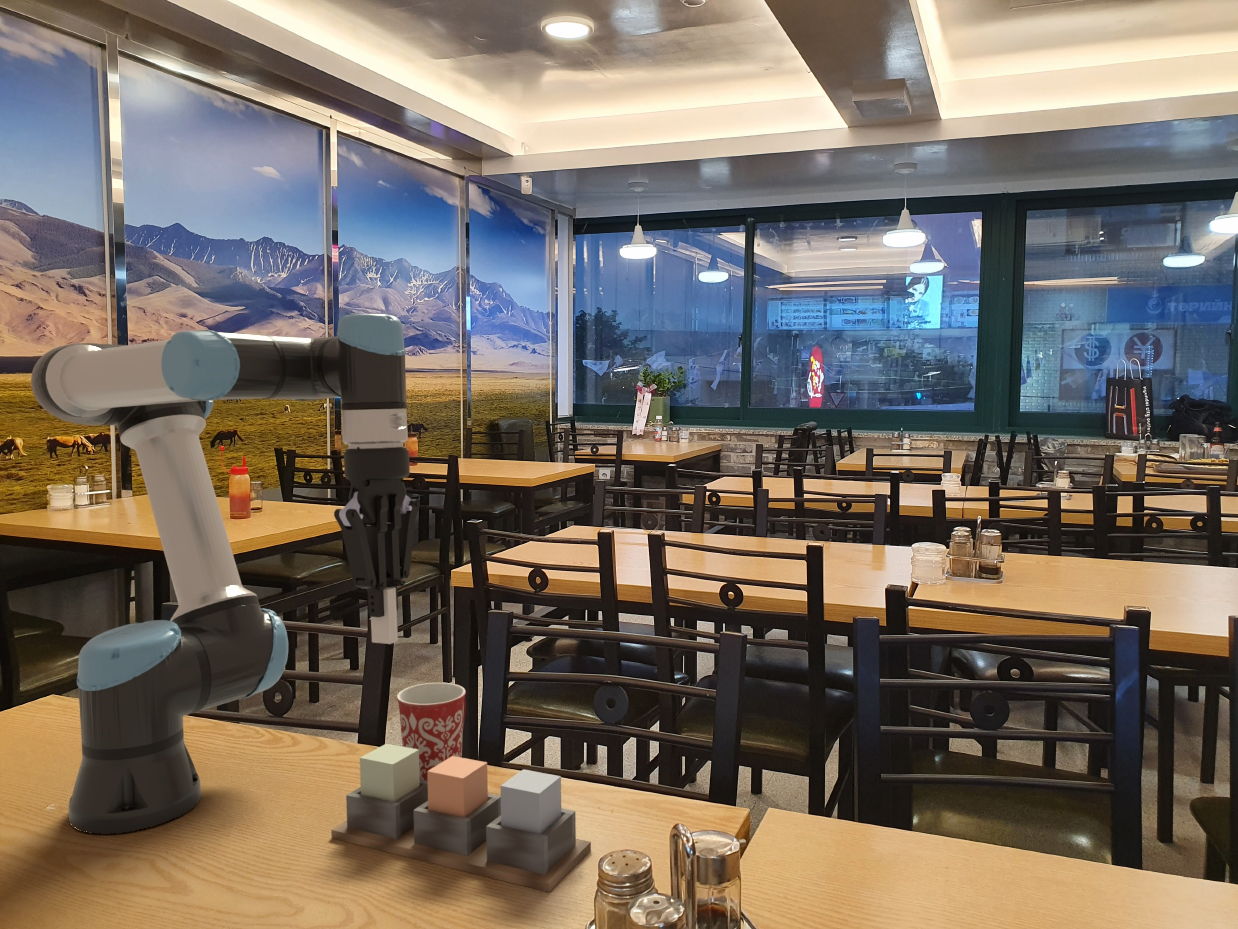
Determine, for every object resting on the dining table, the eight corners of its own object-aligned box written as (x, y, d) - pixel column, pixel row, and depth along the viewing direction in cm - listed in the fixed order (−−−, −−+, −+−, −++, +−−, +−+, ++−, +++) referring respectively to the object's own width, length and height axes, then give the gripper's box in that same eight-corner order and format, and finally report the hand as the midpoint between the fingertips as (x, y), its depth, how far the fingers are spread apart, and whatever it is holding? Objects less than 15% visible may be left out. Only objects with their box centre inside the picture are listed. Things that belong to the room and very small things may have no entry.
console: (331, 837, 110) (330, 797, 109) (385, 804, 119) (384, 767, 118) (549, 892, 97) (548, 847, 97) (590, 850, 106) (590, 808, 106)
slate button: (501, 837, 102) (500, 785, 102) (524, 819, 107) (523, 769, 106) (540, 846, 100) (539, 793, 100) (561, 827, 105) (560, 776, 104)
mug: (444, 809, 117) (442, 707, 116) (385, 798, 120) (383, 699, 119) (492, 772, 129) (490, 678, 128) (437, 763, 132) (435, 672, 131)
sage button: (361, 805, 111) (359, 757, 110) (387, 789, 115) (386, 743, 115) (394, 813, 108) (392, 764, 108) (419, 796, 113) (418, 749, 113)
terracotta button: (428, 821, 106) (427, 771, 106) (453, 803, 111) (452, 756, 110) (464, 829, 104) (463, 778, 104) (488, 811, 109) (487, 762, 108)
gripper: (363, 448, 101) (373, 658, 102) (435, 443, 112) (443, 631, 114) (312, 448, 104) (322, 652, 105) (387, 444, 115) (395, 627, 117)
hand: (384, 641), depth 109 cm, fingers closed
